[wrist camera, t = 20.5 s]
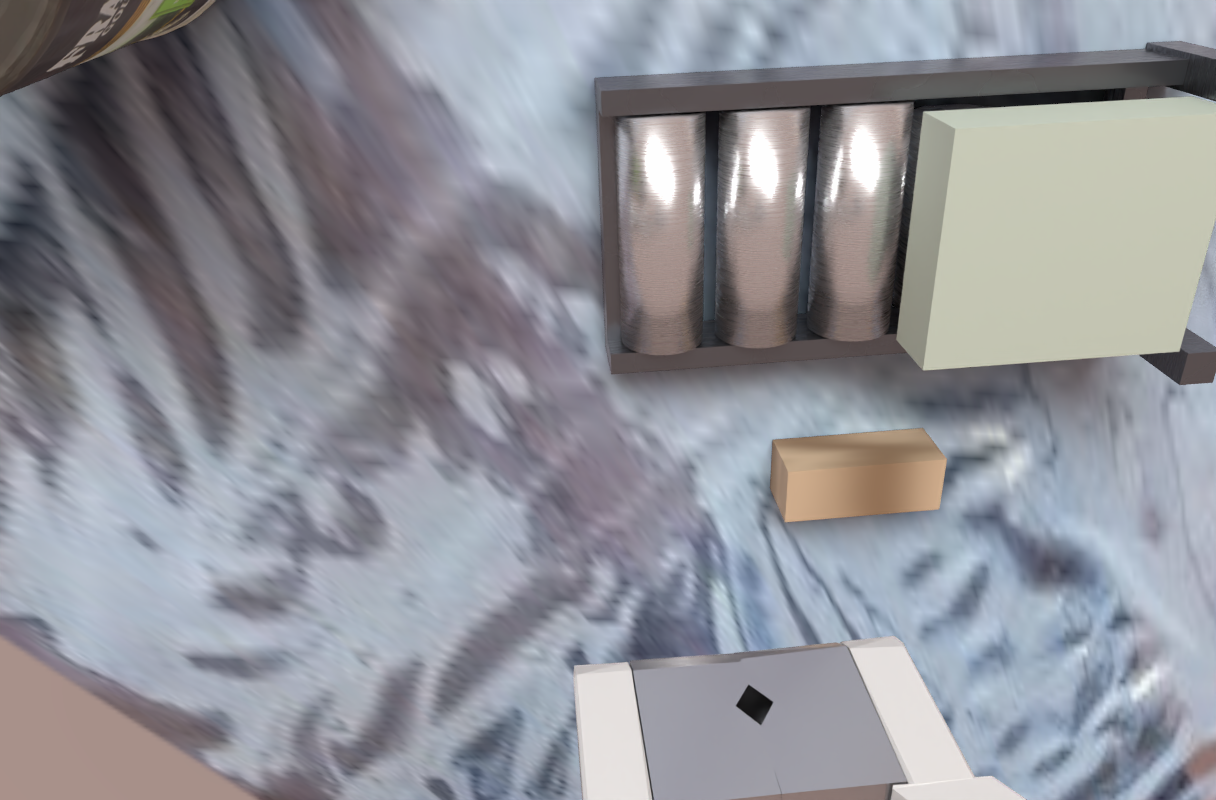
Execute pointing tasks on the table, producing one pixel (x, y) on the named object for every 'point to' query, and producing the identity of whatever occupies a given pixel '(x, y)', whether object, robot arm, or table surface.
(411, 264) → the table surface
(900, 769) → the robot arm
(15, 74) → the coffee can
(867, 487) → the block
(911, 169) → the roller
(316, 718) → the table surface
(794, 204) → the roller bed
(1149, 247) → the slab
